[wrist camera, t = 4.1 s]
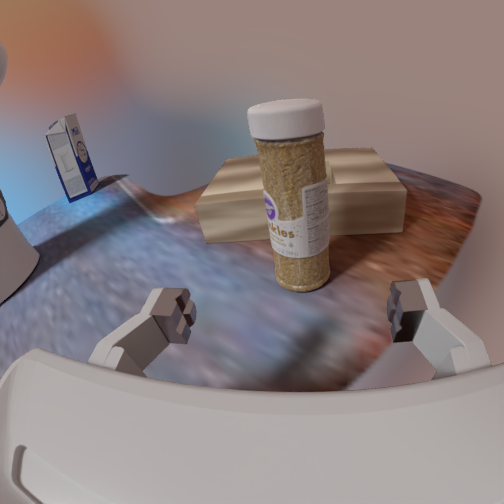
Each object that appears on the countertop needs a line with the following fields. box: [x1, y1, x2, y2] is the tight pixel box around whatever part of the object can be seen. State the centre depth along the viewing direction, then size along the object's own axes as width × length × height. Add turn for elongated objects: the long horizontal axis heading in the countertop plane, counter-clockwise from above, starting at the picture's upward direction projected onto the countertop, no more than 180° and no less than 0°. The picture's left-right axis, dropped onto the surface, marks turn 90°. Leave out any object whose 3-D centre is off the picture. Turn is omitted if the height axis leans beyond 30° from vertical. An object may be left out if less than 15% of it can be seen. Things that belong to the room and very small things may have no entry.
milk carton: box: [45, 114, 99, 203], centre depth 53 cm, size 7×7×20 cm
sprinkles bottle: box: [247, 99, 330, 292], centre depth 19 cm, size 5×5×13 cm
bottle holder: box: [195, 148, 407, 243], centre depth 31 cm, size 14×20×4 cm
